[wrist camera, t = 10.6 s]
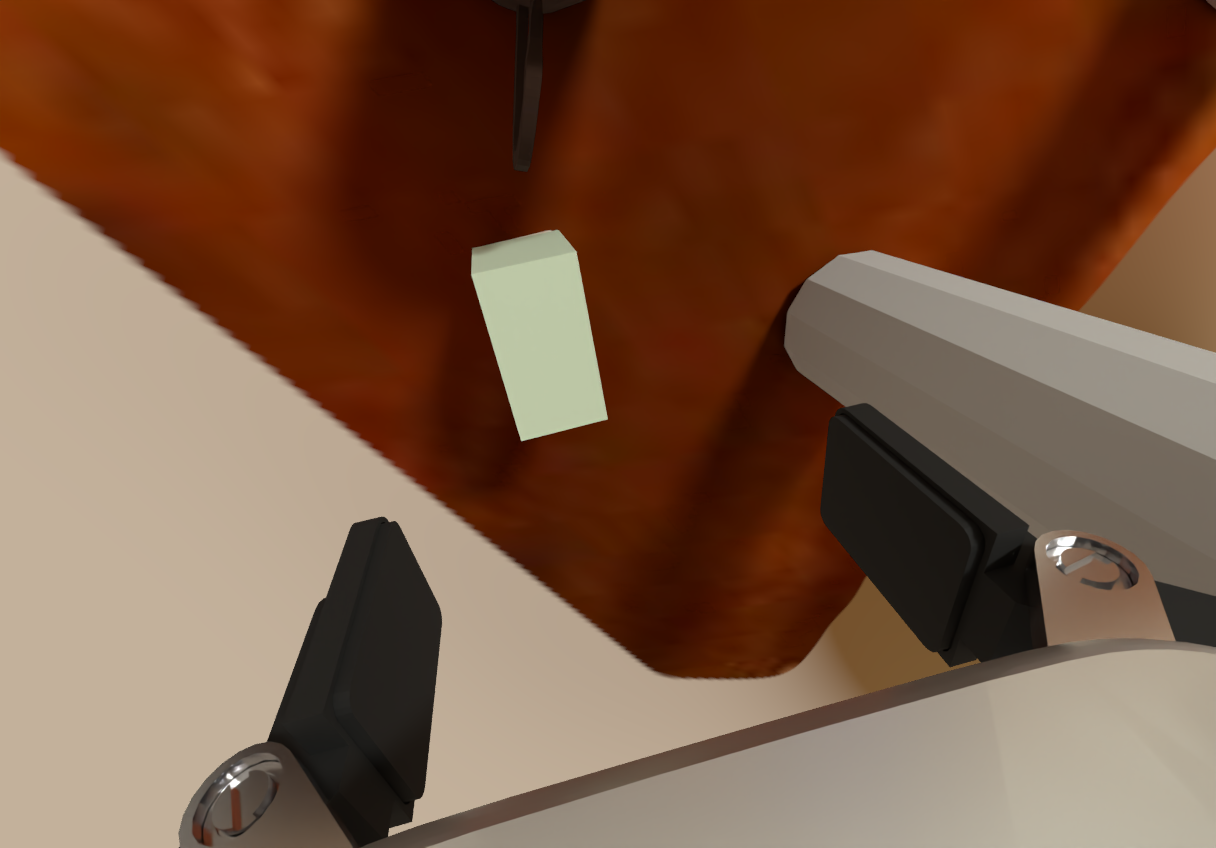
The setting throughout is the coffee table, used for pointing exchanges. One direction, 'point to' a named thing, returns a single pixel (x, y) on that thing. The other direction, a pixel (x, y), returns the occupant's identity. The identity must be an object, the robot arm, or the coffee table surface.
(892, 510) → the robot arm
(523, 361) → the sage brick
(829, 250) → the coffee table surface
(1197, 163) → the coffee table surface
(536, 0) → the coffee mug
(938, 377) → the water bottle
